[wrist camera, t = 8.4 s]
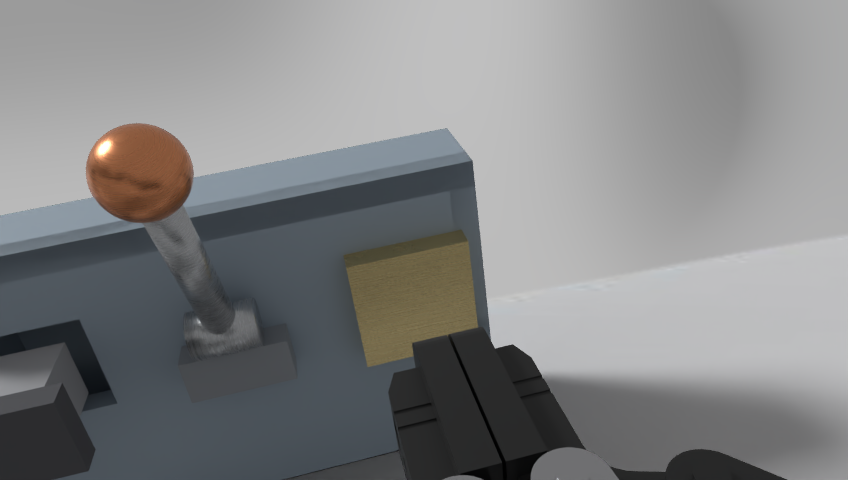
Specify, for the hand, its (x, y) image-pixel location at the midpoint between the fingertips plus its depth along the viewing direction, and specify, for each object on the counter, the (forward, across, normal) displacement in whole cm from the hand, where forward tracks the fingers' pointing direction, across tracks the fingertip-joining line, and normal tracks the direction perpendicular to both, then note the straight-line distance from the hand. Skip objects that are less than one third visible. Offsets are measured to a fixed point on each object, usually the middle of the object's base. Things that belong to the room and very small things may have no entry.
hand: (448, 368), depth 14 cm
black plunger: (+9, +13, +7) cm, 18 cm away
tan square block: (+12, -1, +8) cm, 15 cm away
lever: (+10, +6, +5) cm, 13 cm away
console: (+13, +6, +14) cm, 20 cm away
